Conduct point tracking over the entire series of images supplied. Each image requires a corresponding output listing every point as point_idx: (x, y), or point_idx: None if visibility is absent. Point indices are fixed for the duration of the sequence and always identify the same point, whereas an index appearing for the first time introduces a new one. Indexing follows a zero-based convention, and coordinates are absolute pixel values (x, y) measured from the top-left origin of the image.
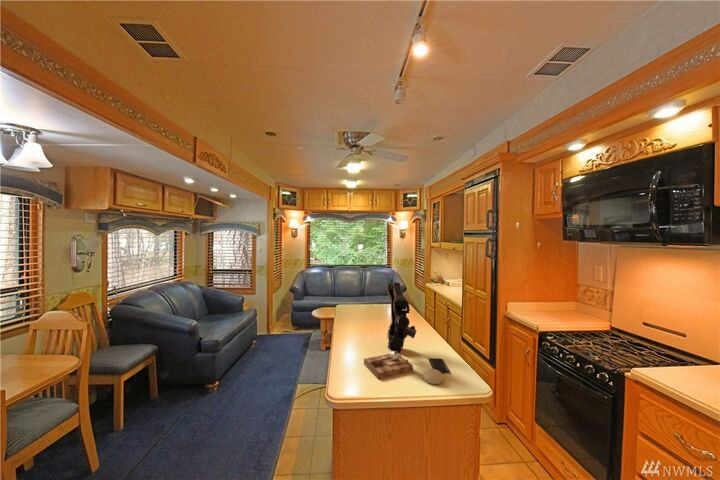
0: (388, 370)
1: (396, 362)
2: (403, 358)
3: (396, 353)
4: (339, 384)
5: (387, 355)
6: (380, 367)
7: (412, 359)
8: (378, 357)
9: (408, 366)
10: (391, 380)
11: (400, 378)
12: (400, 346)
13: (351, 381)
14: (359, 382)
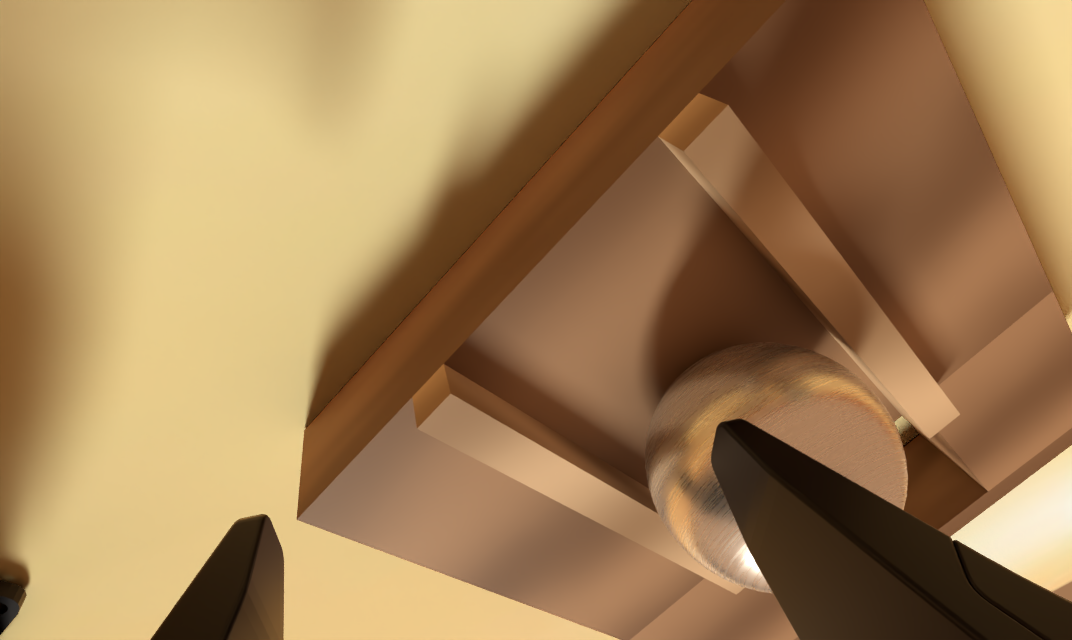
0: (1062, 337)
1: (892, 326)
2: (540, 268)
3: (896, 480)
4: (1065, 560)
5: (532, 565)
6: (967, 460)
7: (94, 56)
8: (661, 613)
9: (928, 23)
10: (1069, 215)
11: (1034, 104)
12: (1057, 619)
13: (1034, 526)
14: (1059, 474)
